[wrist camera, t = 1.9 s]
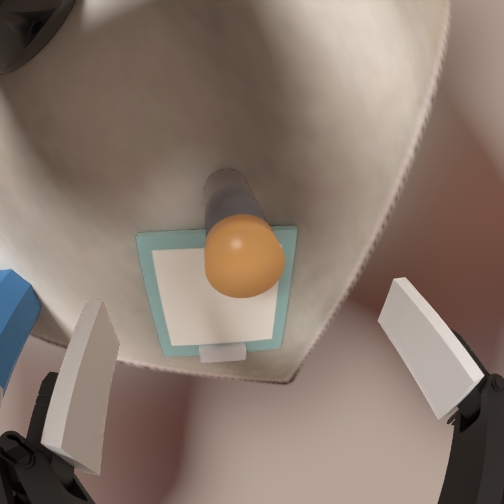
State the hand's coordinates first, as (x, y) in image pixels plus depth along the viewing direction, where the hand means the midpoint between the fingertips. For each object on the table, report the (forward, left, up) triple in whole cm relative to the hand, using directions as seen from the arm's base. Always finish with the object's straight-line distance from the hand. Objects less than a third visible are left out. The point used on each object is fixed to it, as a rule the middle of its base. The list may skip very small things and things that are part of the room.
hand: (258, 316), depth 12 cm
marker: (0, 0, -17) cm, 17 cm away
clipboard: (+13, -1, -17) cm, 21 cm away
